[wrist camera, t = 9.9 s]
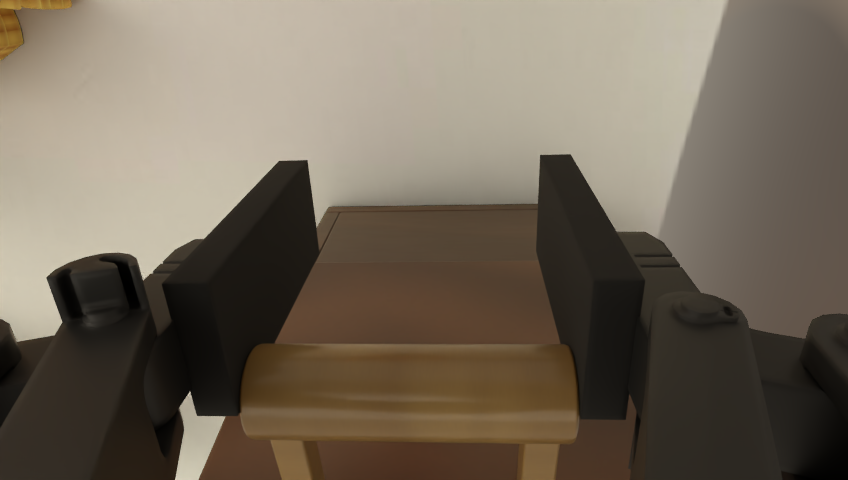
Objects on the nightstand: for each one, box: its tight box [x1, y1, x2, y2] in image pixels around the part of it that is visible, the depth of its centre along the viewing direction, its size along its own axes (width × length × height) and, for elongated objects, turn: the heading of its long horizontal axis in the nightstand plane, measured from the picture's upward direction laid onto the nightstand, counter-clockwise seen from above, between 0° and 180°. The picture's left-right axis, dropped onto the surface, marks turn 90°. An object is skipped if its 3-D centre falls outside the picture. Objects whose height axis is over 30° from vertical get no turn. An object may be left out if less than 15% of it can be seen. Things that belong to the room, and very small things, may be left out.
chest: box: [315, 204, 538, 262], centre depth 30 cm, size 14×13×7 cm
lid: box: [199, 261, 637, 480], centre depth 16 cm, size 14×13×7 cm
